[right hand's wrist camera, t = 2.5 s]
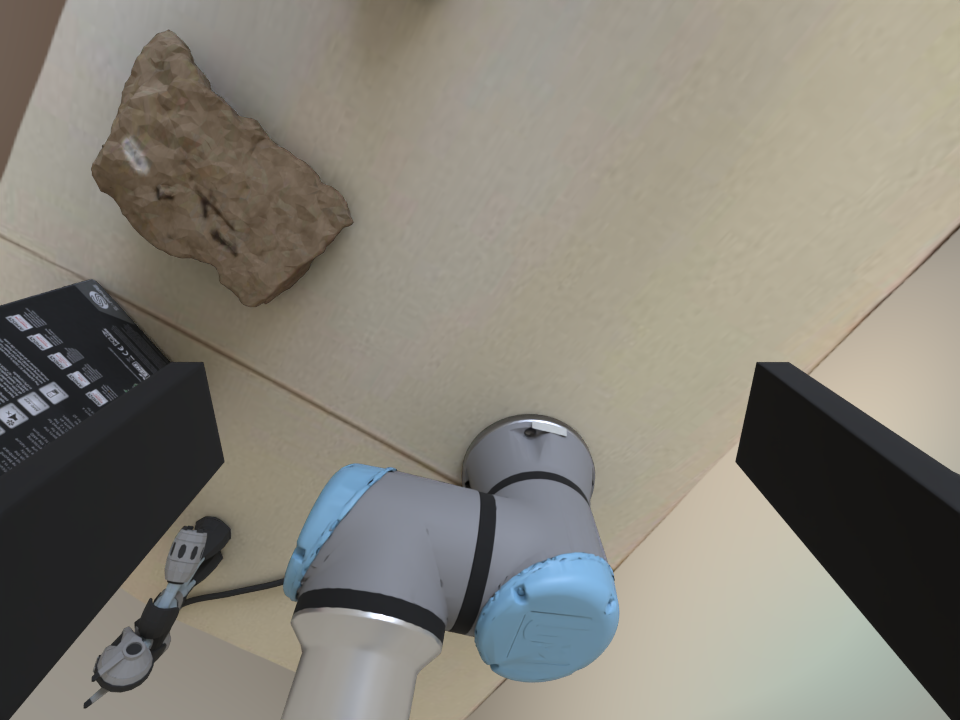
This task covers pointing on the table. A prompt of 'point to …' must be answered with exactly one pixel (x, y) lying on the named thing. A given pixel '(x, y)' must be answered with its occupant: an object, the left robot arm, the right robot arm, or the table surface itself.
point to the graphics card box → (64, 364)
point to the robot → (161, 609)
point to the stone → (213, 179)
